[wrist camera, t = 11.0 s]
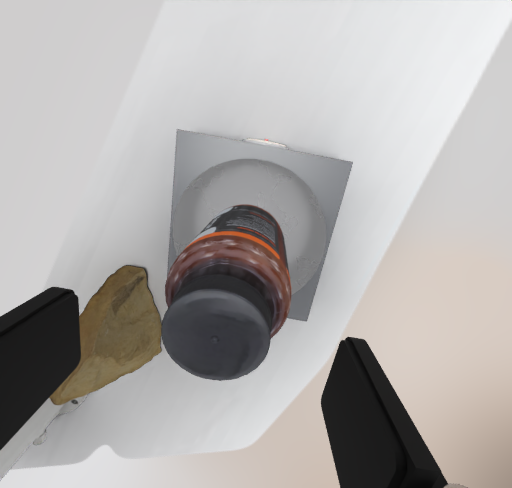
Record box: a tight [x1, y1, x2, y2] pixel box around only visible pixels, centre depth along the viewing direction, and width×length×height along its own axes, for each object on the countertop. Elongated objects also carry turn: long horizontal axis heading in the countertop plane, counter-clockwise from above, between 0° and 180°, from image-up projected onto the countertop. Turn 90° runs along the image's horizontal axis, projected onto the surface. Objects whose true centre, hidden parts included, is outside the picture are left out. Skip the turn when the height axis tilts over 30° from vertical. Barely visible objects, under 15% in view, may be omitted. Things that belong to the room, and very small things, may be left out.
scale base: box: [167, 129, 353, 321], centre depth 22 cm, size 14×13×4 cm
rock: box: [49, 265, 162, 405], centre depth 25 cm, size 11×9×10 cm
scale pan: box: [173, 159, 326, 295], centre depth 20 cm, size 12×12×1 cm
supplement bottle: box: [161, 204, 292, 381], centre depth 14 cm, size 6×6×11 cm
